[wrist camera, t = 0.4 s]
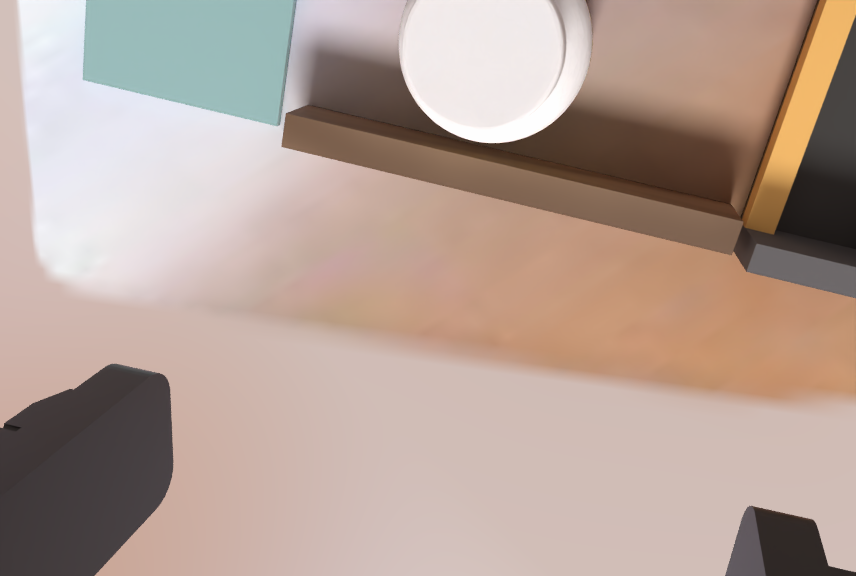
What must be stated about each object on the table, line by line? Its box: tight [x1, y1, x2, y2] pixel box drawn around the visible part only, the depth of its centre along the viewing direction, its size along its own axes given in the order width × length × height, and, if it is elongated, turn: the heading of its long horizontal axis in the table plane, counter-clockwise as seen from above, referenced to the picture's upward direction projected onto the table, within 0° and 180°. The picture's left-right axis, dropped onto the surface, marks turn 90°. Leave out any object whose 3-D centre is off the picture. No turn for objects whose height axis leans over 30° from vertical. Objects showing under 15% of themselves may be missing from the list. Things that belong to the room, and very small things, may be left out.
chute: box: [282, 105, 744, 255], centre depth 27 cm, size 10×16×2 cm, turn 79°
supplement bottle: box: [398, 0, 593, 143], centre depth 24 cm, size 5×5×10 cm
